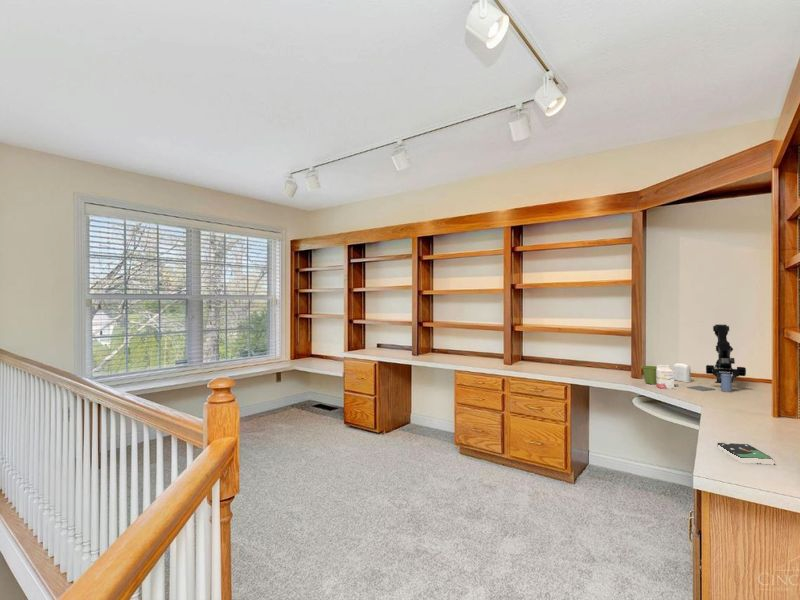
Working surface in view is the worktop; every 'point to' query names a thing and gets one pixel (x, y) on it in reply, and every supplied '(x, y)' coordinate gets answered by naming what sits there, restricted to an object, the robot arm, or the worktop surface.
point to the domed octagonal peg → (726, 382)
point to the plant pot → (650, 374)
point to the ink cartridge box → (664, 377)
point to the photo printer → (682, 372)
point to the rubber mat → (701, 388)
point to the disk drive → (744, 451)
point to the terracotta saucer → (726, 392)
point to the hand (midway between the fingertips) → (726, 381)
